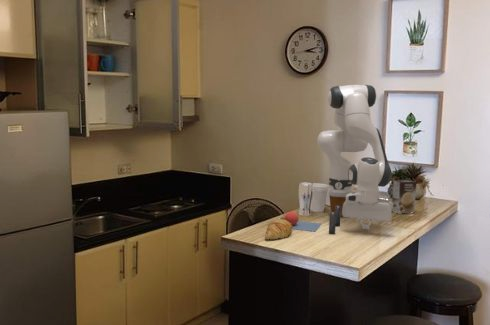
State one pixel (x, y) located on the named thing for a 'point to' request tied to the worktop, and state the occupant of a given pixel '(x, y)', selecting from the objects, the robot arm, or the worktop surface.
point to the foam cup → (319, 197)
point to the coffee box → (403, 196)
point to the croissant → (278, 229)
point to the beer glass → (305, 198)
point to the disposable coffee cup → (337, 198)
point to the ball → (292, 218)
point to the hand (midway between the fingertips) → (365, 229)
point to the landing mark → (306, 226)
